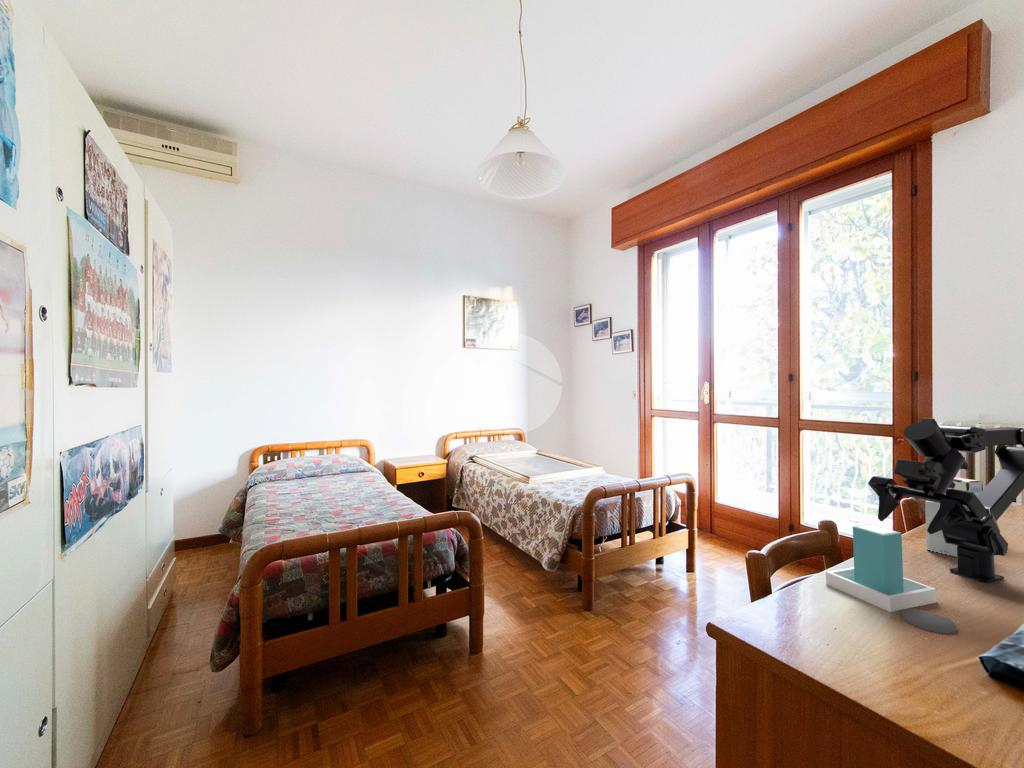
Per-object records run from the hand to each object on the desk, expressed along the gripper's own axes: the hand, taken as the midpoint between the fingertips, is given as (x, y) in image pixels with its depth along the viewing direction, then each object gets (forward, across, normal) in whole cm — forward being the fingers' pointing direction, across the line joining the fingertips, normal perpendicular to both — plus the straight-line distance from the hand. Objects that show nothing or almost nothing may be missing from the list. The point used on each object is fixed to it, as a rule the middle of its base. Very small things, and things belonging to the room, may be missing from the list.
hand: (903, 526), depth 92 cm
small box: (-15, -12, +34) cm, 39 cm away
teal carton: (+15, 0, +4) cm, 15 cm away
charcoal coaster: (+18, +11, +1) cm, 21 cm away
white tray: (+15, 0, +4) cm, 16 cm away
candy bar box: (-27, -20, +46) cm, 58 cm away
